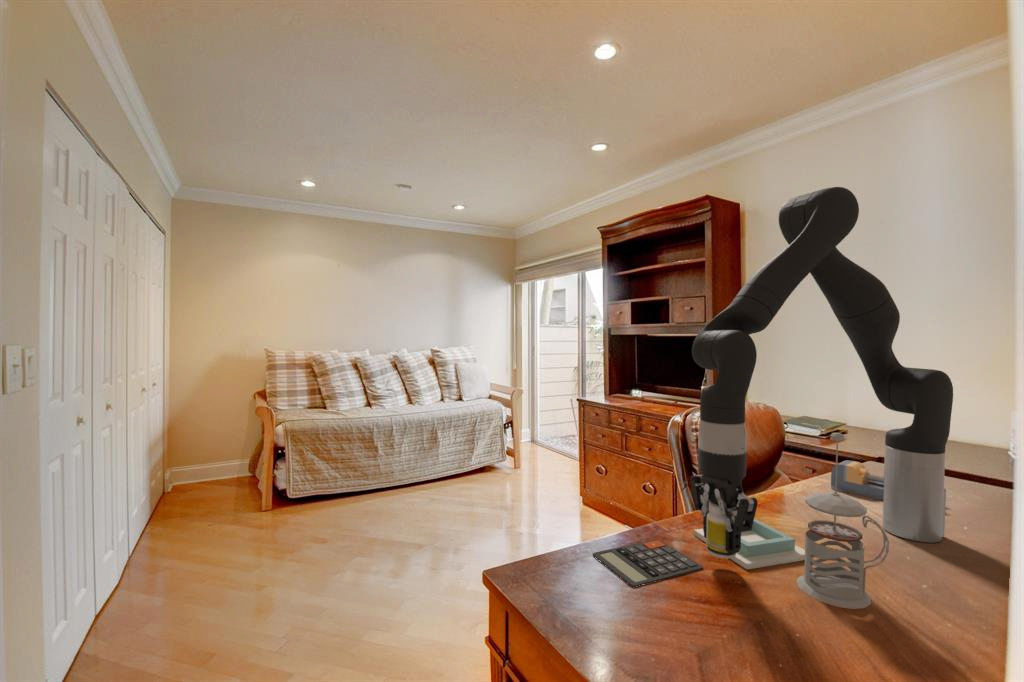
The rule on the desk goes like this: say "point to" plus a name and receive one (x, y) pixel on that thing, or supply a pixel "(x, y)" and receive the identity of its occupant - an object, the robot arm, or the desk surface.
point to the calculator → (647, 562)
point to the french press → (837, 551)
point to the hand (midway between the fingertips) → (721, 544)
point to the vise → (857, 480)
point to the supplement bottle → (717, 532)
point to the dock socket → (763, 547)
